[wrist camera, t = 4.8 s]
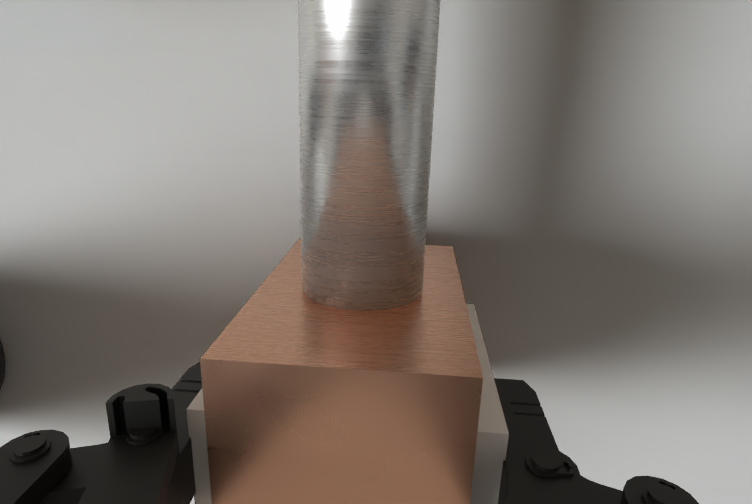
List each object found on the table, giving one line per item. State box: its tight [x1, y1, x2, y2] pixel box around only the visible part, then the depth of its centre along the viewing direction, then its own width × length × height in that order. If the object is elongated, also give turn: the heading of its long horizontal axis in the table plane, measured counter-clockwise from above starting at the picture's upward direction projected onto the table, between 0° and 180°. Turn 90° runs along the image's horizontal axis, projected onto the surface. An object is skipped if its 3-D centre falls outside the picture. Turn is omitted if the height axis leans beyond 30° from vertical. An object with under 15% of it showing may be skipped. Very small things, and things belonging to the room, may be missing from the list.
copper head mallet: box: [200, 0, 483, 504], centre depth 11 cm, size 22×5×8 cm, turn 178°
